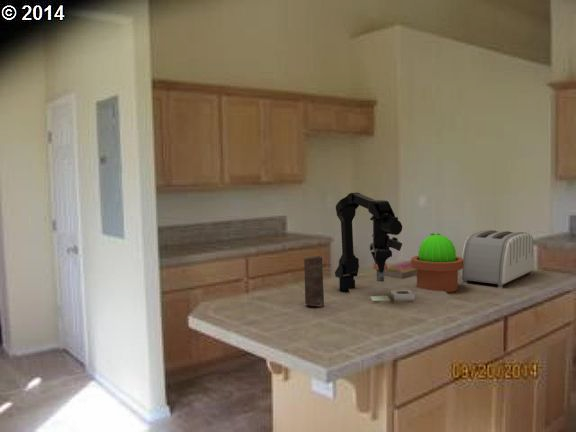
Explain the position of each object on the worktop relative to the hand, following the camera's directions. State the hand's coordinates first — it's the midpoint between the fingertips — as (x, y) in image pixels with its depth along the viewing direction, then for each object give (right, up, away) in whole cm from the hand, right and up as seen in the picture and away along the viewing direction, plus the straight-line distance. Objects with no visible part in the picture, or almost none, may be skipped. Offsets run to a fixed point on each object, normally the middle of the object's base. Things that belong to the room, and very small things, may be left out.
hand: (380, 271), depth 214 cm
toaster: (+65, -8, +44) cm, 78 cm away
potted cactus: (+29, -10, +23) cm, 38 cm away
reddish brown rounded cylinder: (0, -4, 0) cm, 4 cm away
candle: (-26, -14, -2) cm, 30 cm away
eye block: (+9, -11, +1) cm, 14 cm away
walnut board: (+5, -13, +1) cm, 14 cm away
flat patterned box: (+27, -8, +62) cm, 67 cm away
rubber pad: (0, -11, +1) cm, 11 cm away
